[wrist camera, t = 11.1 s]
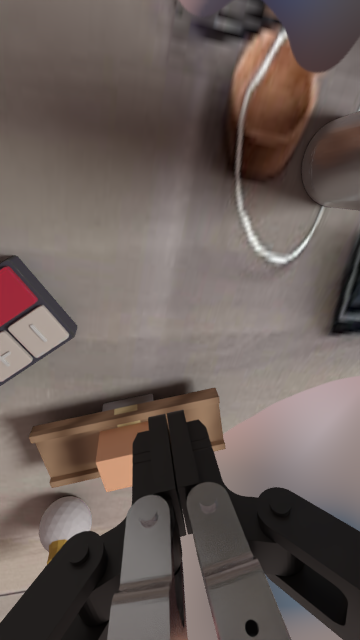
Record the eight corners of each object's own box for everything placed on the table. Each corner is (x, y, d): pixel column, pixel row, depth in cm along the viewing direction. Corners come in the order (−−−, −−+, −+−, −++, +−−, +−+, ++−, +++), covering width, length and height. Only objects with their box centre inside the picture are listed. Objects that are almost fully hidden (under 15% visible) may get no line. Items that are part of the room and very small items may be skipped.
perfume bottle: (75, 479, 49) (58, 564, 38) (111, 513, 53) (105, 598, 42) (35, 501, 50) (7, 590, 39) (73, 532, 54) (58, 622, 43)
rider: (153, 419, 41) (155, 448, 37) (160, 448, 43) (163, 478, 39) (99, 431, 41) (95, 462, 36) (109, 459, 43) (106, 492, 38)
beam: (210, 375, 45) (218, 396, 40) (216, 424, 48) (225, 448, 44) (39, 411, 43) (28, 437, 39) (59, 458, 47) (51, 488, 42)
